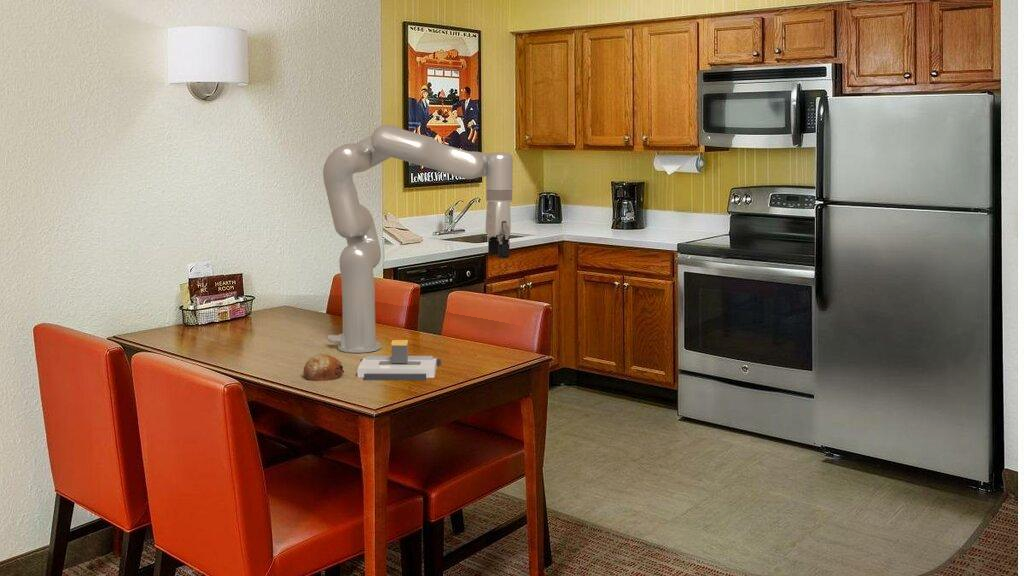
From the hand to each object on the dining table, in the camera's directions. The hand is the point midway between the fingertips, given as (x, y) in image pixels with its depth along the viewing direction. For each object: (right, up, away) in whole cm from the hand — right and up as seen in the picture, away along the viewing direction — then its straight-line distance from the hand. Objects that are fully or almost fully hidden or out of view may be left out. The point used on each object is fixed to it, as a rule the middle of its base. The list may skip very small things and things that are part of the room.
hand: (498, 256), depth 278 cm
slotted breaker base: (-27, -32, -19) cm, 46 cm away
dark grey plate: (-27, -32, -19) cm, 46 cm away
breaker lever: (-26, -29, -19) cm, 44 cm away
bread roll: (-45, -33, -24) cm, 61 cm away
